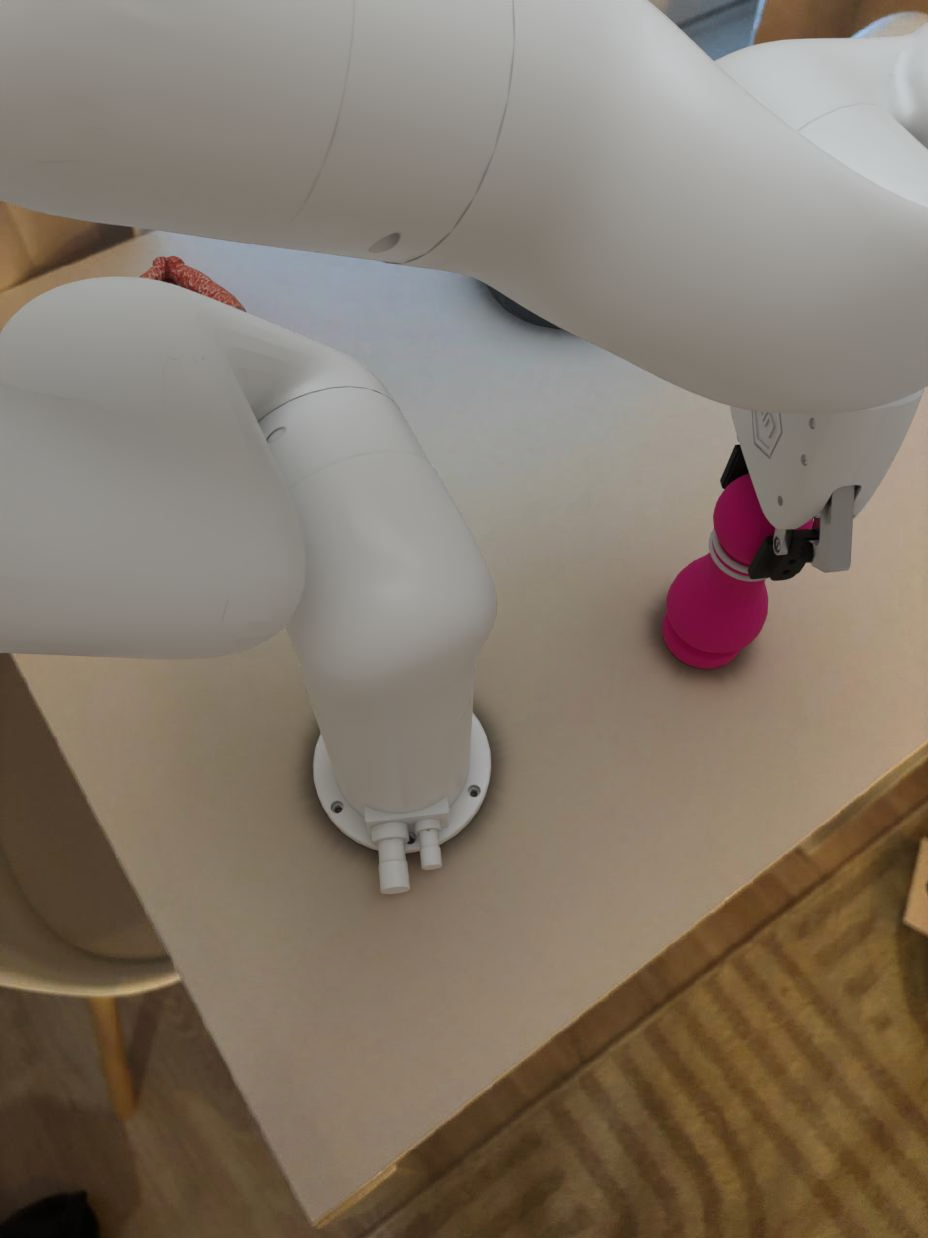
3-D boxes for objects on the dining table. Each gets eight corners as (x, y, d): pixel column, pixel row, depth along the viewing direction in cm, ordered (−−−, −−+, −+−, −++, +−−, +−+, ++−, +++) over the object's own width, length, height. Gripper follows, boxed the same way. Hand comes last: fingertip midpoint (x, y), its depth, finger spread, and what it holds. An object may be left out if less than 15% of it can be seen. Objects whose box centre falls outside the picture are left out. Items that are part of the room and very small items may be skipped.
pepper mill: (746, 597, 75) (840, 435, 57) (750, 680, 71) (851, 536, 53) (655, 588, 75) (720, 425, 57) (654, 670, 71) (723, 524, 54)
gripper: (743, 196, 48) (669, 426, 64) (849, 471, 40) (734, 655, 56) (885, 185, 48) (776, 416, 64) (1019, 454, 40) (857, 642, 56)
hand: (758, 526), depth 60 cm, fingers closed on pepper mill, 6 cm apart
